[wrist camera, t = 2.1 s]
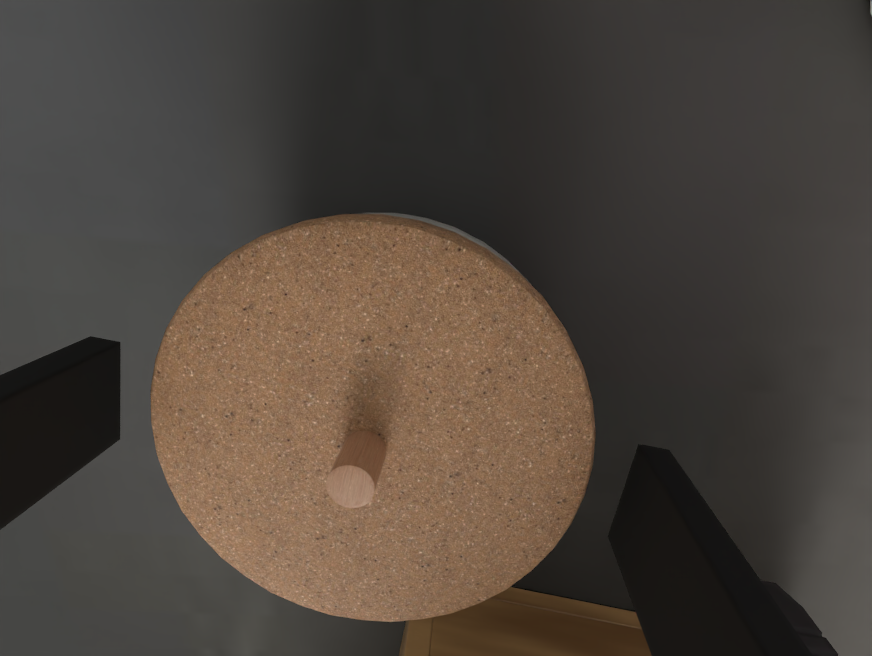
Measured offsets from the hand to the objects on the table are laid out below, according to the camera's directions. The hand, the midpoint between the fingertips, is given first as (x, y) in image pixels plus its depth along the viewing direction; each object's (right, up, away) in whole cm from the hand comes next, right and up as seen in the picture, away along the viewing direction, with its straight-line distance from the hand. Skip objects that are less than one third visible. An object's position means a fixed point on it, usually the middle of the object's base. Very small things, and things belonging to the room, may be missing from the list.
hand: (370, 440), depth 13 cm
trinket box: (+1, +2, +7) cm, 7 cm away
